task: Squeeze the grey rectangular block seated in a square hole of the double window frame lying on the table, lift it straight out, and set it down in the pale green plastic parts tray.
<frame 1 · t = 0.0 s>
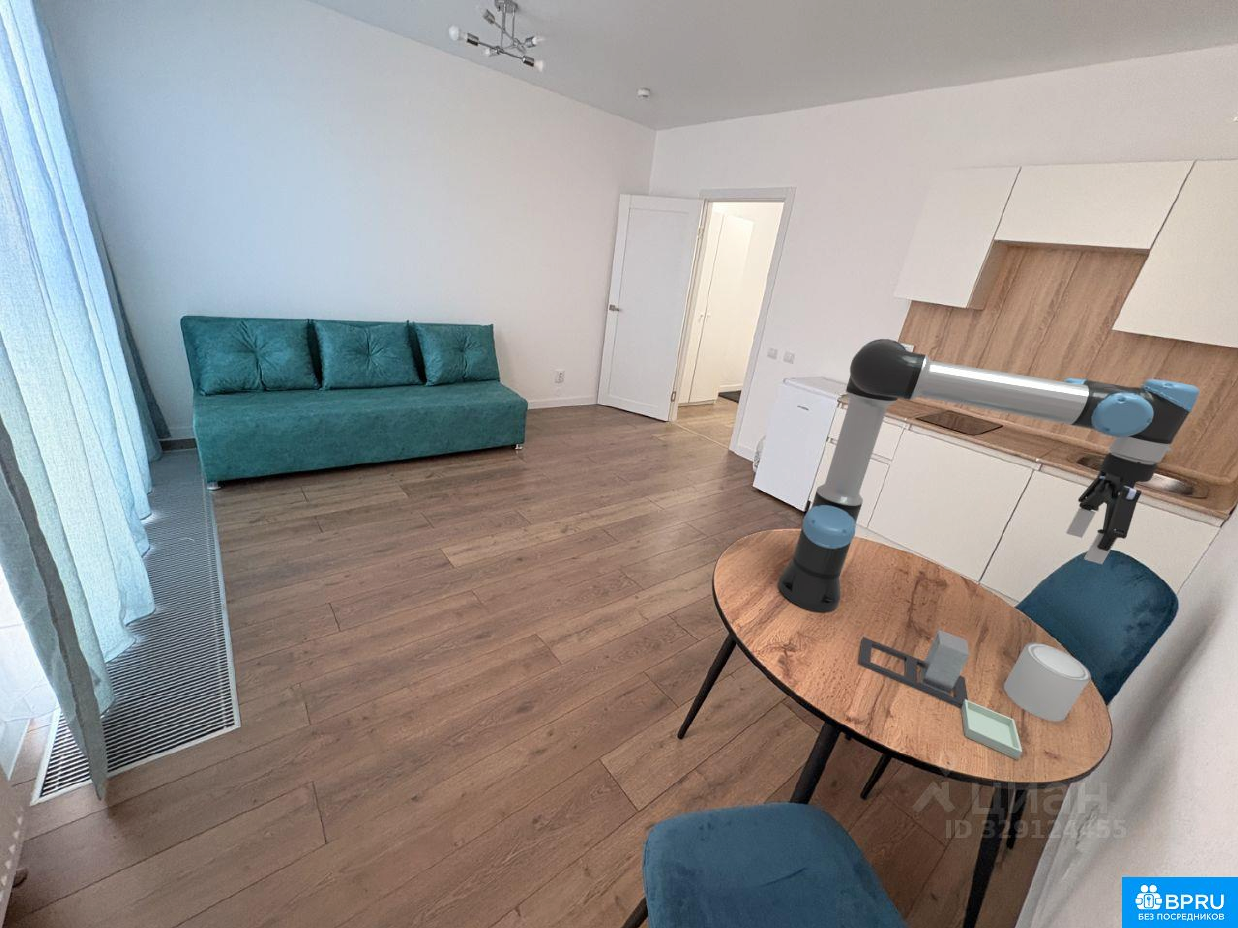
hand: (1082, 547, 103), 28 cm above the table, fingers open, 13 cm apart
parts tray: (987, 731, 89), on the table
double window frame: (910, 672, 101), on the table
grey rectangular block: (934, 682, 99), resting in double window frame
mug: (1033, 697, 98), on the table
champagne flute: (830, 550, 147), on the table
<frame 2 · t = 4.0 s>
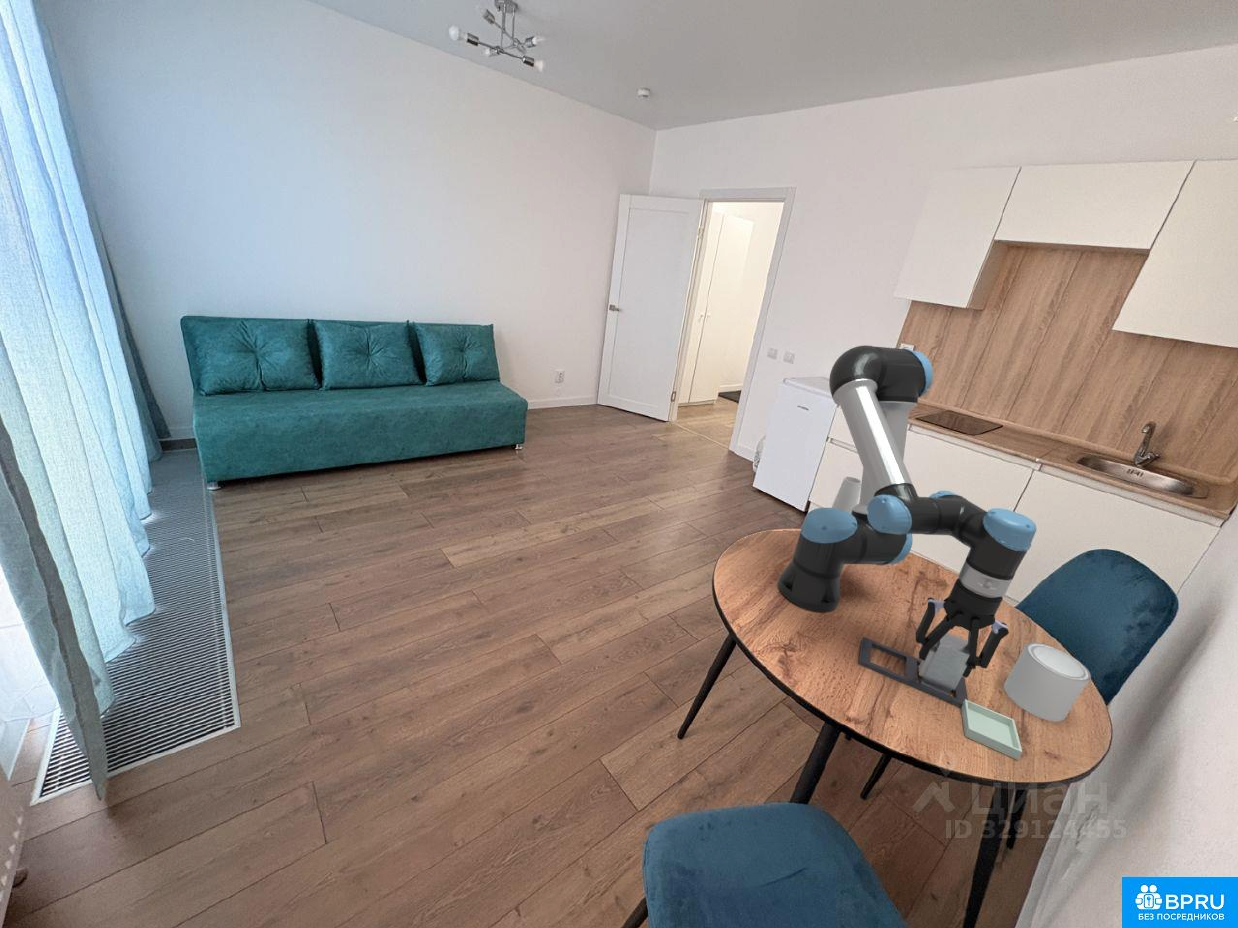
hand: (936, 677, 99), 1 cm above the table, fingers closed on grey rectangular block, 5 cm apart
grey rectangular block: (934, 682, 99), resting in double window frame, touching gripper
everything else where it was.
when the fingers open (2 cm above the table, at t = 9.2 s): grey rectangular block stays where it is, resting on parts tray.
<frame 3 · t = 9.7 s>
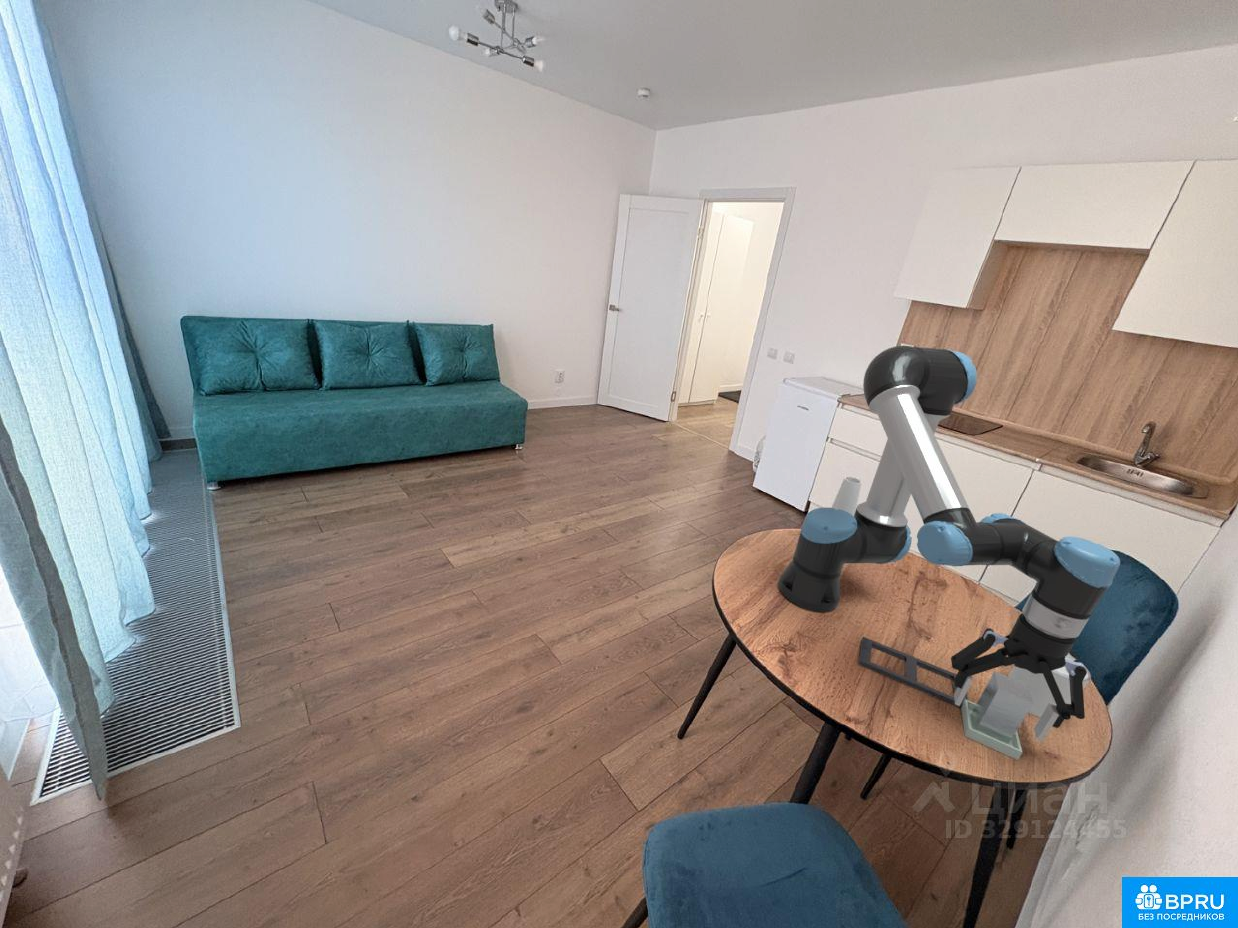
hand: (995, 717, 87), 4 cm above the table, fingers open, 12 cm apart
grey rectangular block: (988, 729, 89), resting on parts tray
everything else where it was.
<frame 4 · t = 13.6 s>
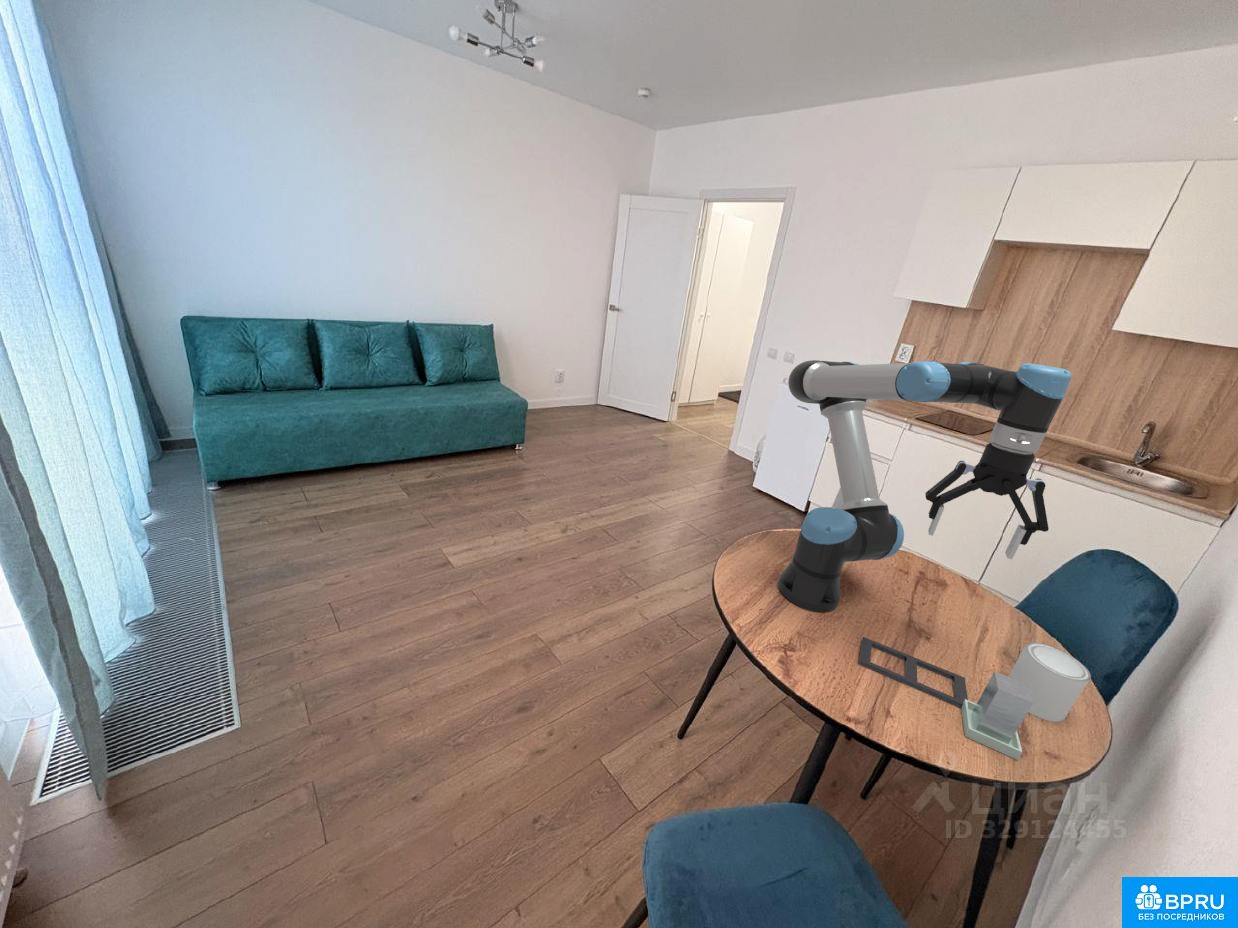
hand: (968, 544, 97), 29 cm above the table, fingers open, 13 cm apart
nothing on the table moved.
at the end: grey rectangular block 0.0 cm off-centre on the parts tray, point 0.5 cm above the parts tray's base; grey rectangular block tilted 0°; grey rectangular block touching parts tray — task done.
